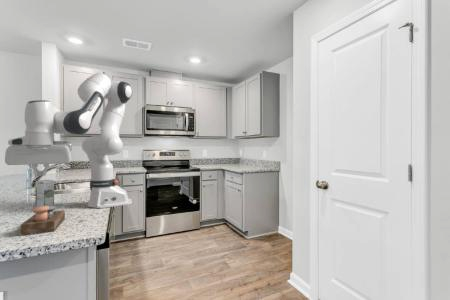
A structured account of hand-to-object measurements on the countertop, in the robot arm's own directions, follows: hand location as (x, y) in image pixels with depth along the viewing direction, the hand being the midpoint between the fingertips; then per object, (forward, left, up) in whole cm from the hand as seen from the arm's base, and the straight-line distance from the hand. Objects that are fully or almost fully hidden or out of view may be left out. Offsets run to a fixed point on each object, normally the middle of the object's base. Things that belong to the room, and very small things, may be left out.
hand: (40, 175), depth 86 cm
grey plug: (-1, -6, -20) cm, 21 cm away
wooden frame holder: (-1, -2, -21) cm, 21 cm away
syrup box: (+9, -39, -21) cm, 46 cm away
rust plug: (-1, +2, -18) cm, 19 cm away
